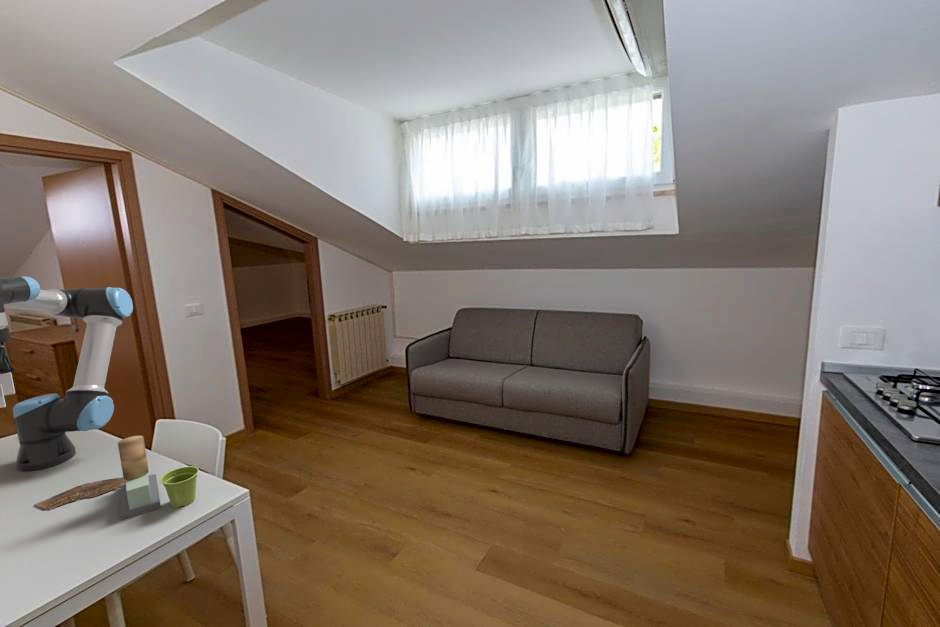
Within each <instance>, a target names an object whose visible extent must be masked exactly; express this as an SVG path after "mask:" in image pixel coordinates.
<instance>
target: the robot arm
mask: <svg viewBox="0 0 940 627" xmlns="http://www.w3.org/2000/svg"><path fill="white" fill-rule="evenodd" d="M6 308H7V309H14V310H15V309H16V310H26V311H27V310H28V311H38V312H41V313H43V314H46V315H47V316H49V315H50V316H57V317H58V316H59V317H63V318H64V317H66V318H75V319H82V320H83V322H85V324H86V328H85V332H84V336H83V341H82V345H81V350H80V354H79V359H78V364H77V367H76V372H75V376H74V380H73V385H72V387H71V388H69V389H67V390H66V391H65V395H64V398H60V397H61V396H60V395H59V394H58V393H56V392H55V393H47V394H42V395H39V396H35V397H32V398H31V397H30V398H28V399H25V400H22V401H20V402H17V403H16V404H15V405H14V406H13V408H12V413H13V414H12V415H13V417H12V418H13V421H14V424H15V430H16V434H17V438H18V443H19V448H18V452H17V456H16V460H15V466H16V469H17V470H18V471H22V472H30V471H31V472H32V471H38V470H42V469H46V468H51V467H54V466H57V465H59V464H62V463H64V462H66V461H68V460H70V459H71V458H73V457H74V456H75V455H76V454H77V451H76V446H75V445H74V444H73V442H72V440H71V439H70V438H69V437H68V435H67V433H69V432H88V431H93V430H99V429H101V428H103V427H105V425H106V424H108V422H109V421H110V420H111V418H112V417H113V414H114V410H115V404H114V400H113V398H111V396H109V391H108V390H106V388H105V385H106V382H107V376H108V370H109V365H110V362H111V361H110V360H111V356H112V351H113V346H114V340H115V337H116V331H117V327H119V326H121V325H123V321H124V318H128V317H130V316H131V315H132V313H133V310H134V305H133V300H132V297H131V295H130V294H129V292H128V291H126V290H125V289H124V288H122V287H111V286H107V287H89V288H85V287H81V288H67V289H66V288H65V289H61V288H60V289H58V288H49V289H48V288H47V289H41V285H40V284H39V282H38V281H37V280H35V279H34V277H33V278H32V277H31V276H25V275H23V276H21V275H19V276H17V275H16V276H10V277H0V409H1V408H2V409H3V408H6V407H7V405H6V400H5V396H11V395H15V394H16V389H15V386H14V385H15V384H14V380H13V375H12V372H15V367H13V366H12V364H11V361H10V358H9V356H8V353H7V352H8V351H7V350H6V347H5V342H8V341H10V340H11V333H10V328H8V327H7V326H8V325H9V323H8V322H9V321H8V317H7V313H6Z"/></svg>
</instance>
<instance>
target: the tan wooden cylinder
mask: <svg viewBox="0 0 940 627" xmlns="http://www.w3.org/2000/svg"><path fill="white" fill-rule="evenodd" d="M117 447H118V453H119V460H120V465H121V471H122V477H123V478H124V479H125V480H133V479H137V478H140V477H143V476H145V475H146V474H147V473H148V474H149V465H148V458H147V450H146V445H145V438H144V436H143V435H133V436H128V437H125V438H122V439H121V440H119V441H118V442H117Z"/></svg>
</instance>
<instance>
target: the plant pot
mask: <svg viewBox="0 0 940 627" xmlns="http://www.w3.org/2000/svg"><path fill="white" fill-rule="evenodd" d="M199 472H200V469H199V468H198V467H197V466H193V465H191V466H182V467H178V468H175V469H172V470H170V471H168V472H166V473H165V474H163V475H162V476H161V478H160V483H161V484H162V485H163V487H164V488H165V490H166V494H167V497H168V500H169V503H170V506H171V507H173V508H180V507H182V506H183V507H185V506H187V505H190V504H191V503H193V502H195V500H196V497H197V496H196V494H197V478H198V474H199Z"/></svg>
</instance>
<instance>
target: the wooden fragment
mask: <svg viewBox="0 0 940 627" xmlns="http://www.w3.org/2000/svg"><path fill="white" fill-rule="evenodd" d="M122 483H126V480H125V479H124V478H123V476H122V477H118V478H117V477H115V478H109V479H108V478H107V479H103V480H98V481H93V482H87V483H84V484H81V485H80V484H79V485H78V486H75V487H72V488H70V489H67V490H66V491H63V492H61V493H58V494H56V495H53V496H51V497H49V498H47V499H44V500H41V501H39V502H36V503H34V505H33V507H35V506H36V507H35V508H36V509H37V508H38V509H37V510H43V511H47V510H46V509H48V511H50V509H51V510H53V509H55V508H57V507H60V506H64V505H66V504H70V503H73V502H74V503H75V502H76V501H79V499H80V500H83V499H89V498H94V497H98V496H100V495H103V494H106V493H108V492H112V491H116V490H117V491H118V490H119V489H121V484H122ZM40 508H42V509H40Z"/></svg>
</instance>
